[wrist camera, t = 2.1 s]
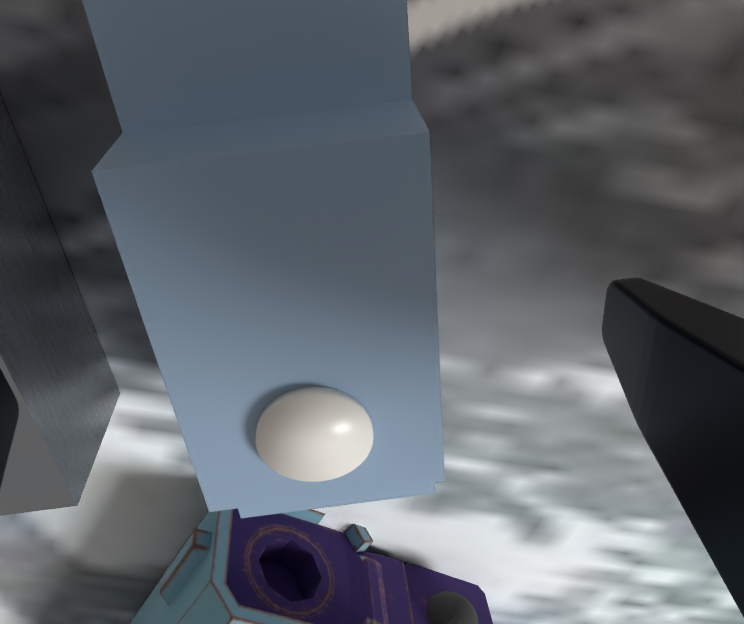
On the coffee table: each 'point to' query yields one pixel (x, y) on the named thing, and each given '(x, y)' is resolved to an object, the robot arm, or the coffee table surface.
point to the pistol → (300, 578)
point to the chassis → (45, 349)
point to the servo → (279, 241)
